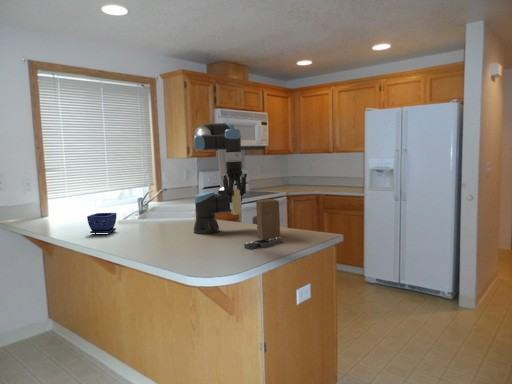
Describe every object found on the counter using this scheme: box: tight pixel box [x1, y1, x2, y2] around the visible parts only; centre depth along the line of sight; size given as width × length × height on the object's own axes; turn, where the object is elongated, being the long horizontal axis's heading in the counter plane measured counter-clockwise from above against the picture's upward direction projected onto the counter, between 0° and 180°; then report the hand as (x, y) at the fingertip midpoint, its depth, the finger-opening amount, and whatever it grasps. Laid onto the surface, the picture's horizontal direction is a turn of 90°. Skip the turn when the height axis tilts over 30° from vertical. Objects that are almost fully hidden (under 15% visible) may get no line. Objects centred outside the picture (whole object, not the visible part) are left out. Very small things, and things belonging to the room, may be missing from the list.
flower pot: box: [86, 212, 117, 234], centre depth 237 cm, size 13×13×12 cm
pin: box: [230, 188, 242, 216], centre depth 190 cm, size 3×3×12 cm
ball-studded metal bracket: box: [243, 236, 284, 250], centre depth 190 cm, size 8×21×3 cm, turn 125°
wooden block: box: [255, 198, 281, 240], centre depth 208 cm, size 10×10×20 cm
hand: (235, 208), depth 190 cm, fingers closed on pin, 3 cm apart
